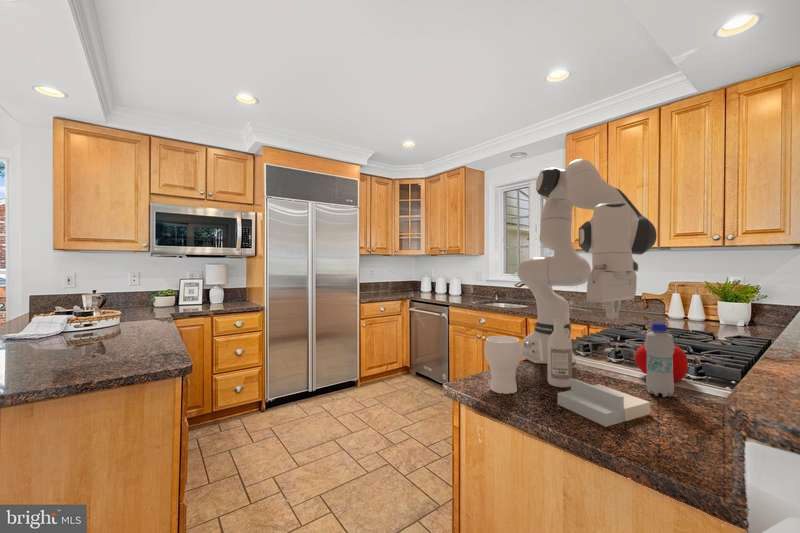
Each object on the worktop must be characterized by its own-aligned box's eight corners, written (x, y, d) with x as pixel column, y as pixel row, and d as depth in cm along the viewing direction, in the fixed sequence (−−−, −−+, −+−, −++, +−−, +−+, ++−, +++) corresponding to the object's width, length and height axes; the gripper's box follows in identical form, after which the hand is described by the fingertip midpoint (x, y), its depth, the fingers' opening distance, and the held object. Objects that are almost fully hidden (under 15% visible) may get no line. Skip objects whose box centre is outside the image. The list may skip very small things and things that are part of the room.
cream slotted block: (575, 400, 96) (575, 388, 96) (598, 394, 100) (598, 383, 100) (624, 421, 83) (624, 408, 83) (650, 414, 87) (650, 401, 87)
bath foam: (577, 387, 106) (576, 320, 105) (555, 388, 105) (553, 321, 105) (564, 379, 113) (563, 316, 112) (543, 380, 112) (542, 317, 112)
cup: (477, 389, 107) (476, 339, 106) (499, 380, 113) (498, 333, 113) (508, 399, 98) (507, 345, 98) (529, 389, 105) (528, 339, 105)
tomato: (669, 388, 103) (669, 348, 103) (627, 373, 116) (626, 339, 116) (700, 382, 107) (699, 345, 106) (655, 369, 120) (655, 335, 120)
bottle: (680, 399, 95) (679, 325, 94) (652, 398, 96) (651, 324, 96) (667, 390, 101) (666, 320, 101) (640, 389, 103) (639, 320, 102)
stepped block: (557, 404, 94) (557, 381, 94) (574, 400, 96) (574, 378, 96) (605, 426, 81) (605, 400, 81) (623, 421, 83) (623, 396, 83)
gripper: (606, 264, 83) (607, 323, 83) (641, 264, 95) (641, 316, 95) (579, 264, 88) (579, 320, 88) (615, 265, 100) (616, 314, 100)
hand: (612, 318), depth 91 cm, fingers closed
